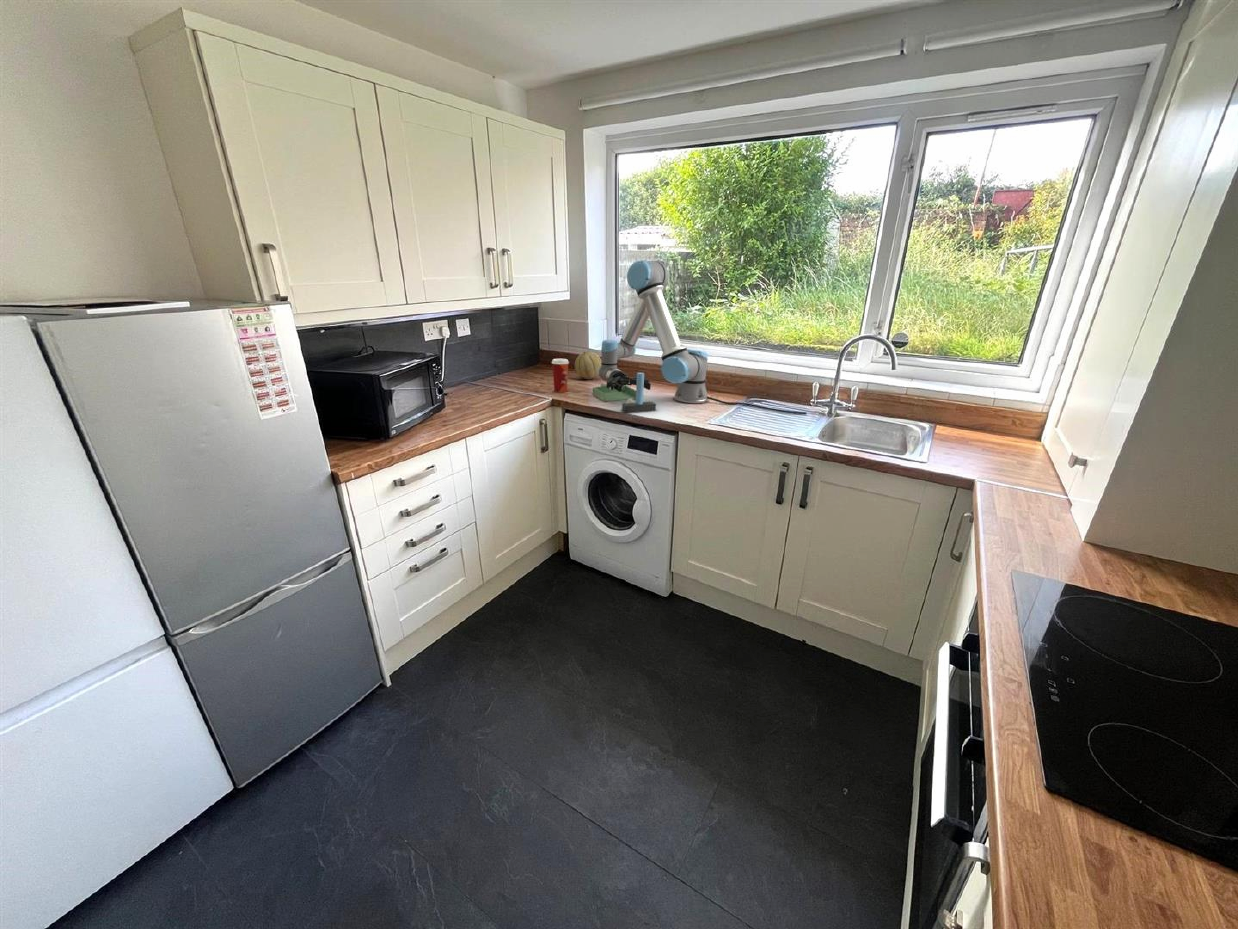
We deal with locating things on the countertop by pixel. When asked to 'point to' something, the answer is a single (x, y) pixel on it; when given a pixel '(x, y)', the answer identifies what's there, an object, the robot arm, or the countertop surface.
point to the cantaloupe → (588, 365)
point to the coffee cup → (560, 374)
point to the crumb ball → (630, 400)
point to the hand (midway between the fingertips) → (635, 387)
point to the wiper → (639, 399)
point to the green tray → (614, 393)
